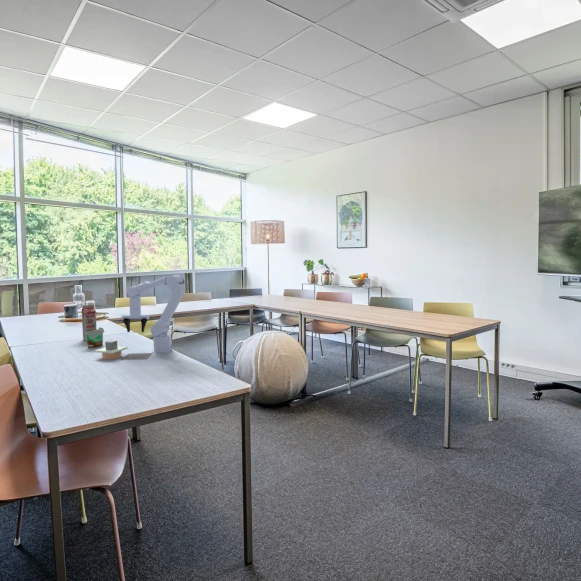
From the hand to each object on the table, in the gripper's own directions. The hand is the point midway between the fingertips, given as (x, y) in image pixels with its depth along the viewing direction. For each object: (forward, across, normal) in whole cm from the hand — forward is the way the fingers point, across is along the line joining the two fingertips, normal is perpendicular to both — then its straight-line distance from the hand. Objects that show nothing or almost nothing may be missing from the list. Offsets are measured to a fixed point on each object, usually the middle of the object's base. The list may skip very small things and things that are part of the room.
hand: (135, 331), depth 231 cm
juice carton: (+11, +38, -30) cm, 49 cm away
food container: (+11, +26, -12) cm, 30 cm away
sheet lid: (+6, +8, +16) cm, 19 cm away
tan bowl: (+10, +8, +16) cm, 21 cm away
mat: (+10, -6, +16) cm, 20 cm away
